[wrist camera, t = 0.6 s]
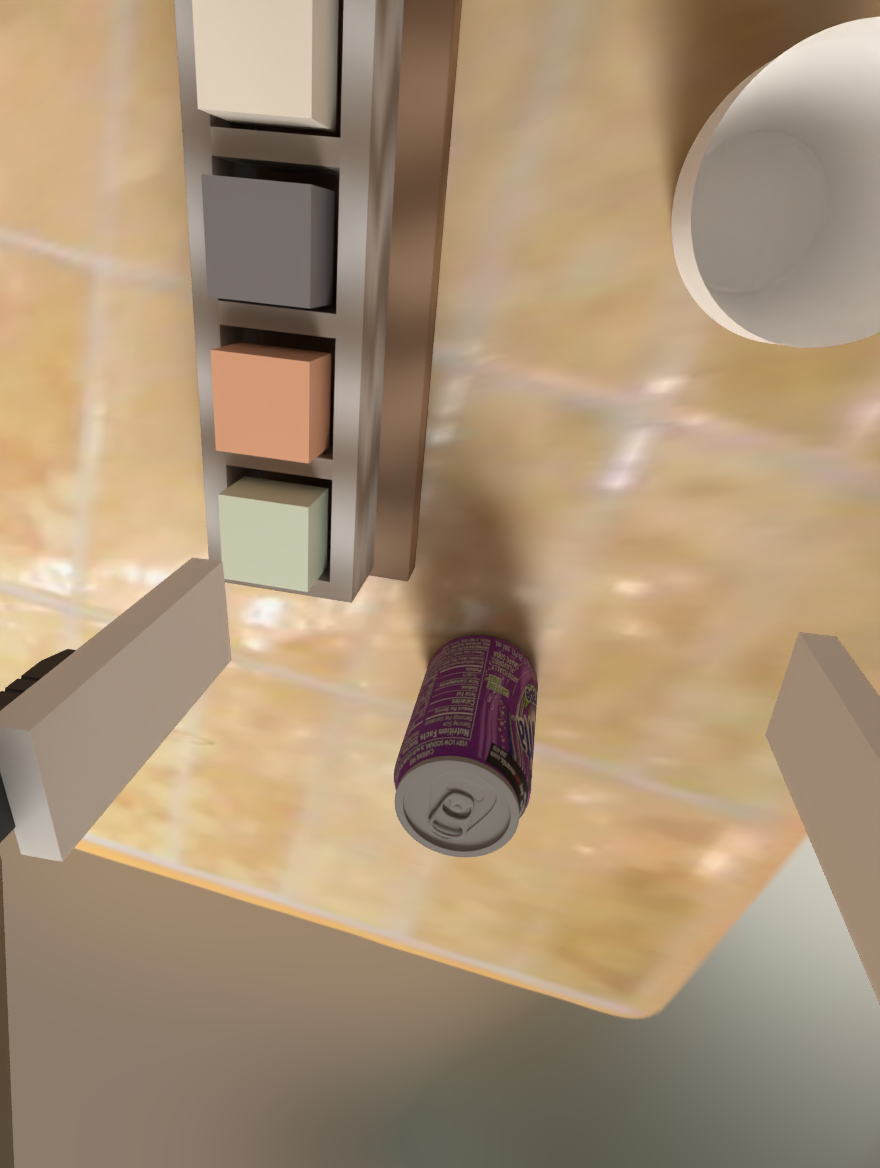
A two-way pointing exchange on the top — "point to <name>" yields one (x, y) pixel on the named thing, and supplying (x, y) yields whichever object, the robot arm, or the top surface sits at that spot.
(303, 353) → the key terracotta
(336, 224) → the slotted block tray
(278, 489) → the key sage
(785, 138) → the cup
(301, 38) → the key ivory
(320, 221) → the key charcoal
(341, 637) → the top surface
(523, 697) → the beverage can
